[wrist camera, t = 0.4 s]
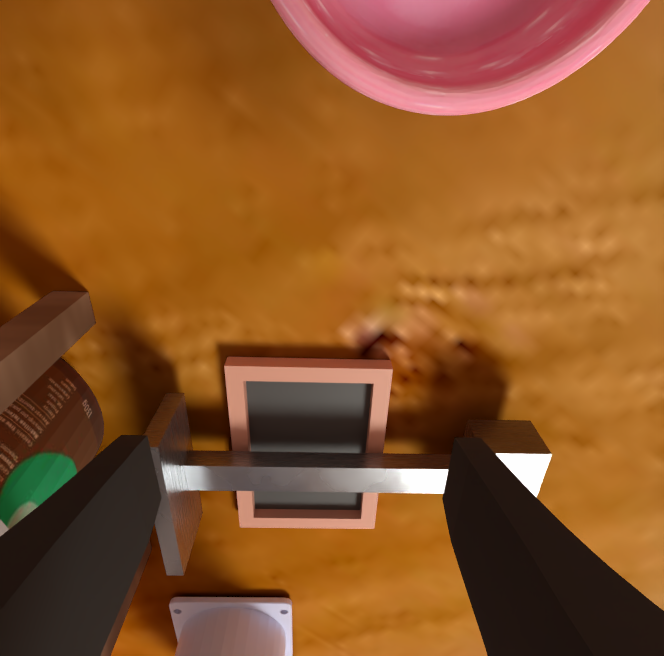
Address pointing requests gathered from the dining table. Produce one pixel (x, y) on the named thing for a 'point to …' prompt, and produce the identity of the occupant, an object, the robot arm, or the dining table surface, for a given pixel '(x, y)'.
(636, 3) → the pink shallow round bowl
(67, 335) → the tunnel
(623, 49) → the dining table surface
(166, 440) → the grey piece
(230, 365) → the picture frame
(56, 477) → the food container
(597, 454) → the dining table surface
